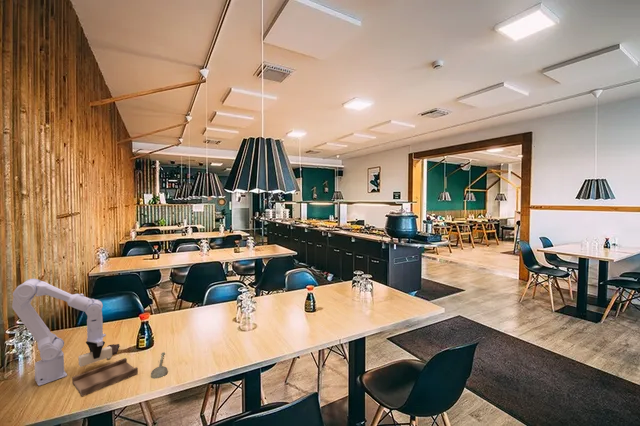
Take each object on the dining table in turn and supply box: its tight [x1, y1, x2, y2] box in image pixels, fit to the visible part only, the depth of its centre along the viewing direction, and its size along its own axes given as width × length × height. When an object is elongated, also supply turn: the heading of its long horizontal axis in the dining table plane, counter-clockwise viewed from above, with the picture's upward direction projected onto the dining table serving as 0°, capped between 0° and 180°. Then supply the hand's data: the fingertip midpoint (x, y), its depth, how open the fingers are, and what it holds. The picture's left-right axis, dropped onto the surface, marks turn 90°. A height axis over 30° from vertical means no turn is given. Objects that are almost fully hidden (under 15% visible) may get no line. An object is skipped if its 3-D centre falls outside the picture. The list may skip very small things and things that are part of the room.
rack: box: [71, 357, 139, 397], centre depth 131 cm, size 20×14×3 cm
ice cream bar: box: [106, 343, 120, 360], centre depth 153 cm, size 5×2×15 cm
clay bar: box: [78, 345, 113, 368], centre depth 139 cm, size 12×3×4 cm, turn 141°
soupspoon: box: [150, 352, 168, 379], centre depth 141 cm, size 22×3×7 cm
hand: (95, 356), depth 139 cm, fingers closed on clay bar, 3 cm apart
